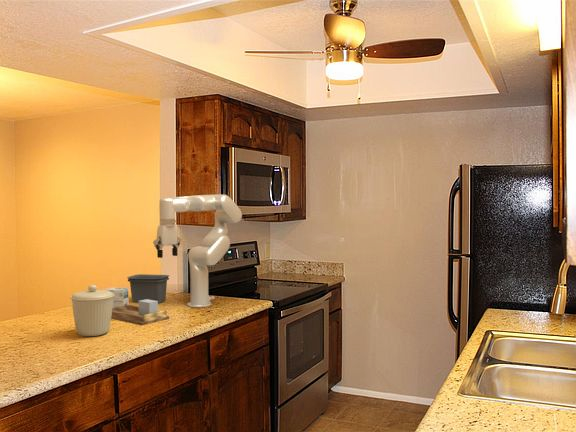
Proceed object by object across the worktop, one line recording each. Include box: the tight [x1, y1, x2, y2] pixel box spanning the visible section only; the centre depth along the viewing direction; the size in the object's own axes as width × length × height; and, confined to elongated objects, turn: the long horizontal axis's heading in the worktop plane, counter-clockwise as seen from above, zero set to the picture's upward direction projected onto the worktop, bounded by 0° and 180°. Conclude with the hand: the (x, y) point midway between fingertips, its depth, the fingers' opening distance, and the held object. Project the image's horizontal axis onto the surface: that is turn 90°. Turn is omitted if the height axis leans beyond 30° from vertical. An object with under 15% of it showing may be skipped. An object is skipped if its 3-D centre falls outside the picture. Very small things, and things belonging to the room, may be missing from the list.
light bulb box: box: [103, 287, 130, 308], centre depth 284 cm, size 11×7×11 cm, turn 84°
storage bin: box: [126, 273, 170, 304], centre depth 303 cm, size 21×16×14 cm
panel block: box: [137, 299, 159, 316], centre depth 258 cm, size 5×8×8 cm, turn 53°
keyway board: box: [111, 304, 170, 326], centre depth 264 cm, size 16×30×4 cm, turn 54°
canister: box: [69, 284, 115, 337], centre depth 233 cm, size 18×18×21 cm
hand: (167, 256), depth 274 cm, fingers open, 9 cm apart
